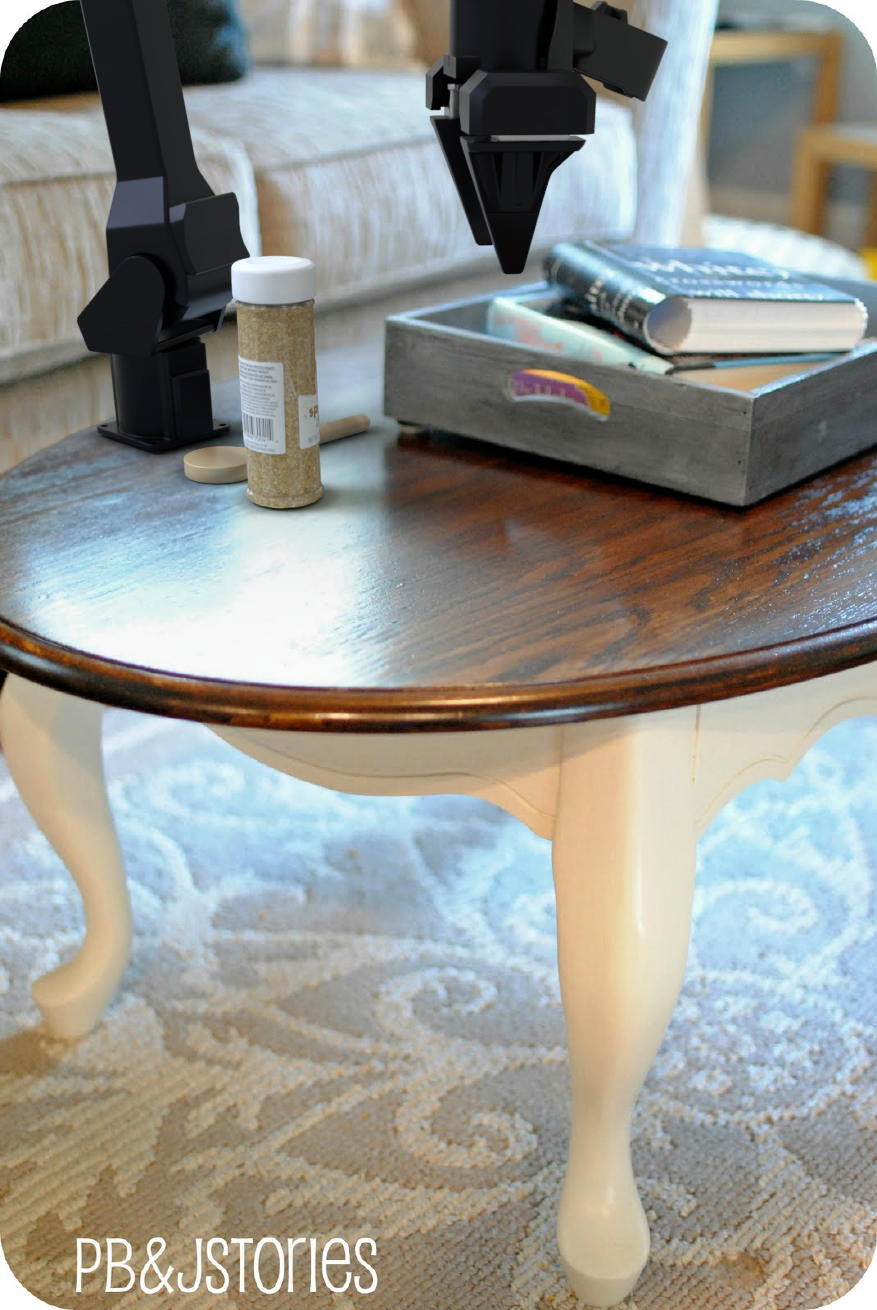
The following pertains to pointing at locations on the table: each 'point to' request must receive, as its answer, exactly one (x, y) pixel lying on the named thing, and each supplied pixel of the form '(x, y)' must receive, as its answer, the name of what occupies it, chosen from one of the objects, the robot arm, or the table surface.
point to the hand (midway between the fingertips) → (498, 258)
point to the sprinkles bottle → (278, 379)
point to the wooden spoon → (231, 461)
